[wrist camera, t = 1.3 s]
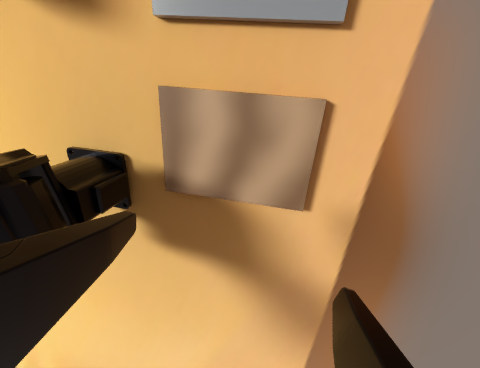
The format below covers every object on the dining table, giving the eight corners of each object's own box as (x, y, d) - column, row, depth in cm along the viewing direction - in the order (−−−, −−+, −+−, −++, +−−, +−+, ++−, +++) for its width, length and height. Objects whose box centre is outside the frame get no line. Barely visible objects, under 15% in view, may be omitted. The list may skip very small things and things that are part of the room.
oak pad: (169, 187, 24) (165, 190, 23) (162, 85, 20) (158, 85, 19) (302, 207, 22) (302, 211, 21) (325, 99, 18) (326, 99, 17)
